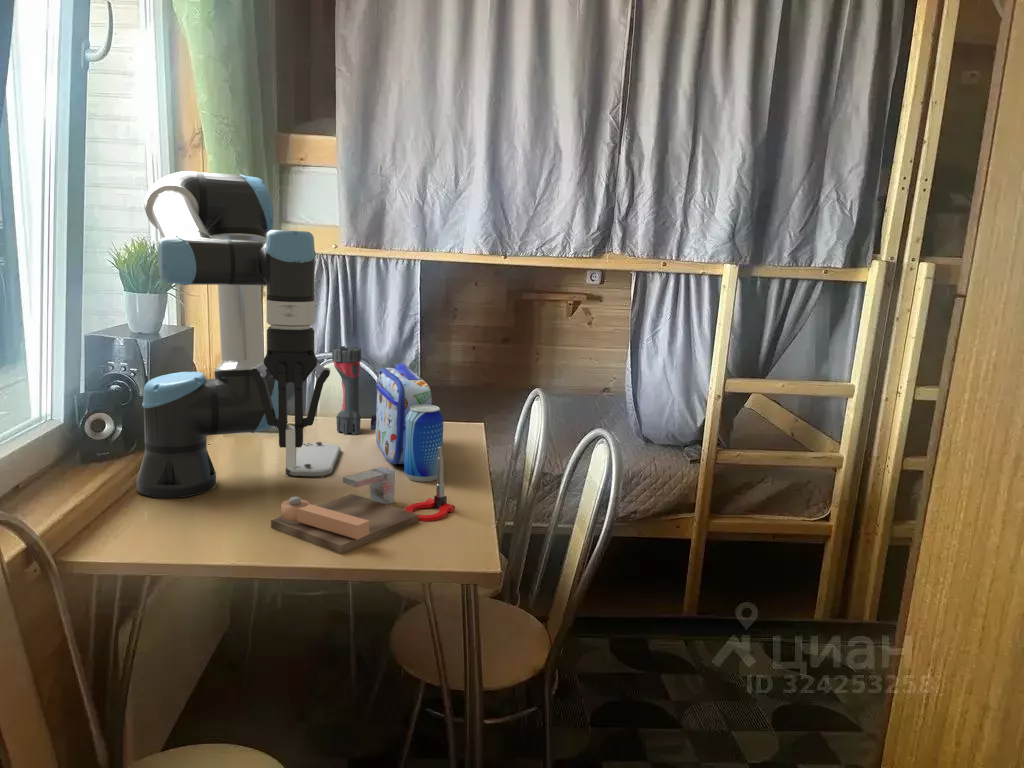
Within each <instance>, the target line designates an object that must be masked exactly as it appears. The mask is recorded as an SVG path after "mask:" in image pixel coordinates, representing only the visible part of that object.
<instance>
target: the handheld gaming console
mask: <svg viewBox="0 0 1024 768" xmlns="http://www.w3.org/2000/svg"><path fill="white" fill-rule="evenodd" d="M340 453H341V446H339V445H338V444H335V443H327V442H326V443H325V442H324V443H323V442H320V441H317V442H316V443H315V442H307V443H306V442H305V443H303V444H302V447H297V449H296V467H295V468H286V467H285V476H286V475H288V476H287V477H289V475H291V476H290V477H293V476H306V477H305V478H322V477H321V476H324V477H327V475H328V476H329V475H331V474H332V473H333V470H334V467H335V465H336V463H337V460H338V458H339V455H340ZM307 476H308V477H307Z"/></svg>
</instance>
